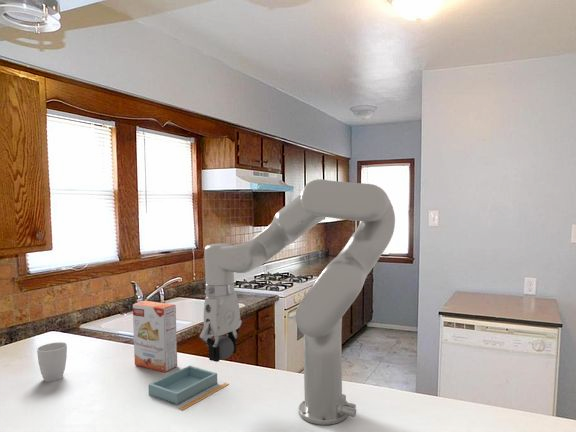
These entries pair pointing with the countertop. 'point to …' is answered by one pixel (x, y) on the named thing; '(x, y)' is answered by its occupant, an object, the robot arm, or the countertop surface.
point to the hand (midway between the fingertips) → (223, 355)
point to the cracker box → (155, 335)
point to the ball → (225, 347)
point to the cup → (52, 360)
